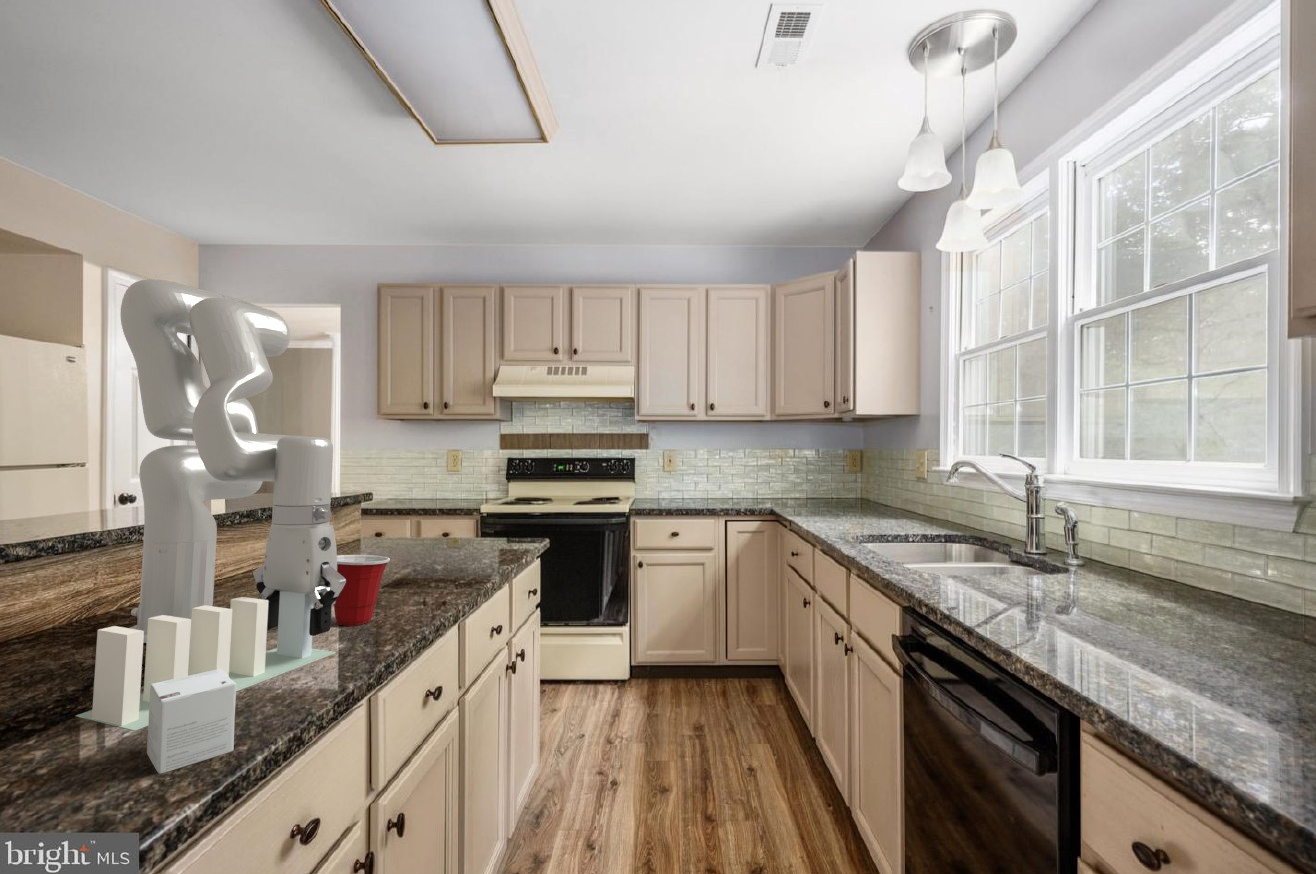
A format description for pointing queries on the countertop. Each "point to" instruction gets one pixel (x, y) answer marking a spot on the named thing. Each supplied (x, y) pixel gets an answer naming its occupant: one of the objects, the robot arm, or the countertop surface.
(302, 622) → the domino
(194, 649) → the domino
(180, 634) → the domino
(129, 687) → the domino
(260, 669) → the domino
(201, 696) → the skincare box
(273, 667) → the strip
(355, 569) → the plastic cup
